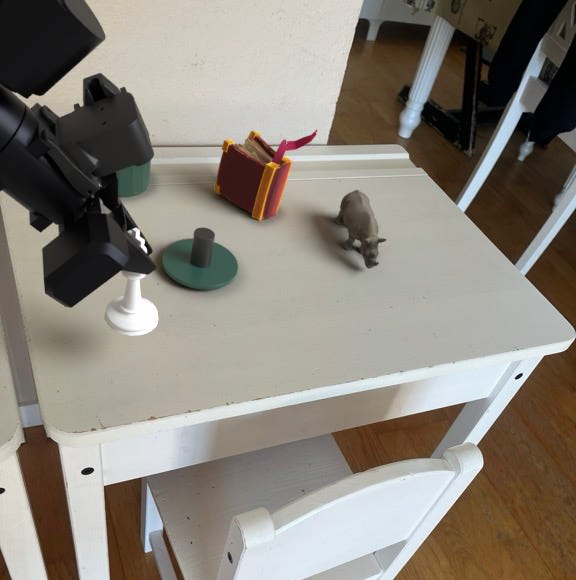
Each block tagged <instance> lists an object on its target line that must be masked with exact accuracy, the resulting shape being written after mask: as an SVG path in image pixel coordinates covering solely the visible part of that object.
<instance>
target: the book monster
mask: <svg viewBox="0 0 576 580" xmlns="http://www.w3.org/2000/svg"><path fill="white" fill-rule="evenodd" d="M318 131H319V130H318V129H315V130H314V131H313V132H312V134H309V135H306V136H303V137H301V138H298V139H296V140H288V141H287V139H286V138H285V139H282V140H281V142H280V144H279V146H278V148H277V150H275V149H274V148H272V147H271V146H270V144H268V143H267V142H266V141H265V140H264V139H263V138H262V137H261V134H260V132H258V131H255V130H250V132H249V134H248V136H247V138H246V139H245V140H244V144H243V145H242V144H241V143H238V144H237V143H235V141H233V140H232V139H230V138H227V139H226V138H225V139H223V143H222V145H221V150H222V154H221V157H220V162H219V165H218V169H217V175H216V182H214V185H213V187H214V188H213V189H214V193H216V194H217V195H222V196H223V197H224V198H226V199H227V200H229V201H230V202H231V203H233V204H235V205H236V206H237V207H239V208H241V209H243V210H244V211H247V212H249V213H251V218H254V219H256V220H258V221H261V220H268V219H270V218H272V217H274V216H276V215H277V212H278V211H279V208H280V205H281V201H282V198H283V195H284V191H285V188H286V185H287V181H288V178H289V176H290V172H291V168H292V165H293V160H291V159H290V158H289V157H288V156H285V153H286V152H288V151H294V150H298V149H301V148H303V147H305V146H306V145H308V144H310V143H311V142H312V141H313V140H314V139H315V138H316V136H317V135H318V134H317V132H318Z"/></svg>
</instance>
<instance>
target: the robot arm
mask: <svg viewBox="0 0 576 580" xmlns="http://www.w3.org/2000/svg"><path fill="white" fill-rule="evenodd" d="M106 39H107V37H106V32H105V31H104V29H103V26H102V24H101V23H100V21H99V19H98V18H97V16H96V15H95V13H94V11H93V10H92V8H91V7H90V5H89V4H88V3H87V1H86V0H0V192H4V193H5V194H6V195H7V196H9V197H10V198H11V199H13V200H14V201H16V203H18V204H19V205H20V206H22V208H25V209H26V210H27V211H28V216H29V217H28V218H29V219H28V220H29V226H31V227H32V228H34V229H35V230H36V231H38V232H39V233H42V232H44V231H45V230H46V229H47V228H49V227H50V226H51V225H52V224H55V225H56V226H57V229H58V235H57V236H56V237H55V238H53V239H52V240H50V242H49V243H47V244H46V245H44V246H43V247H42V248H41V253H42V270H43V271H42V272H43V286H44V287H43V288H44V294H45V295H47V296H48V297H50V298H51V299H52V300H54V301H55V302H57V303H59V304H60V305H61V306H64V307H65V308H69V309H71V308H73V307H75V306H76V305H78V304H79V303H80V302H81V301H83V300H84V299H86V298H87V297H89V295H91V294H92V293H94V292H95V291H96V290H98V289H99V288H100V287H101V286H103V285H104V284H106V283H107V282H108V281H110V280H111V279H112V278H113V277H115V276H116V275H118V274H119V273H120V272H121V271H127V272H133V273H139V274H145V275H146V276H147V275H150V274H152V273H154V271H156V269H157V265H156V263H155V261H154V260H152V258H151V257H150V255H152V254H153V247H152V246H151V245H150V243H149V241H148V240H147V239H146V237H145V235H144V234H143V232H142V231H141V229H140V227H139V226H138V225H137V223H136V222H135V220H134V219H133V217H132V215H131V214H130V213H129V211H128V210H127V208H126V206H125V204H124V203H123V201H122V200H121V197H118V176H117V171H120V170H122V169H125V168H128V167H131V166H137V167H138V166H141V165H144V164H146V163H148V162H149V161H150V160H151V161H152V160H153V158H154V156H155V151H154V148H153V145H152V141H151V138H150V132H149V130H148V128H147V125H146V124H145V121H144V119H143V116H142V114H141V111H140V109H139V107H138V104H137V102H136V99H135V97H134V95H133V93H131V92H129V91H128V90H127V88H126V87H125V86H121V87H120V88H119V87H118V86H117V85H115V83H113V82H112V81H111V80H110V79H109V78H107V77H106V75H104V74H103V73H102V72H98V73H96V74H93V75H89V76H87V77H84V78H83V79H82V106H81V105H80V102H79V103H78V102H77V103H73V110H72V111H70V112H69V113H66V114H64V115H61V116H59V115H58V114H56V113H55V112H54V111H53V110H52V109H51V108H50V107H49V106H47V105H46V104H44V105H41V104H40V103H39V102H36V103H34V105H32V107H29V106H28V105H27V104H26V102H24V101H23V100H22V99H20V97H19V96H21V97H23V98H24V99H26V100H28V99H29V98H31V96H38V97H42V96H44V95H45V94H46V93H47V92H49V91H50V90H51V89H52V88H54V86H55V85H57V83H59V82H60V81H61V80H62V79H63V78H64V77H65V76H66V75H68V74H69V73H70V72H71V71H72V70H73V69H74V68H75V67H76V66H77V65H79V64H80V63H81V62H82V61H84V59H86V58H87V57H88V56H89V55H90V54H91V53H93V51H95V49H96V48H98V47H99V46H100V45H101V44H102V43H103V42H104V41H106ZM16 94H18V95H19V96H17V95H16ZM134 228H138V229H139V230H140V237H141V238H143V239H144V240H145V244H144V246H145V247H146V248H147V253H146V252H145V251H144V250H143V249H142V248H141V247H140V245H139V244H138V243H137V242H136V241H135V240H134V239H133V237H132V236H131V235H130V234H129V233H128V232H127V231H129V230H131V231H132V229H134Z"/></svg>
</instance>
